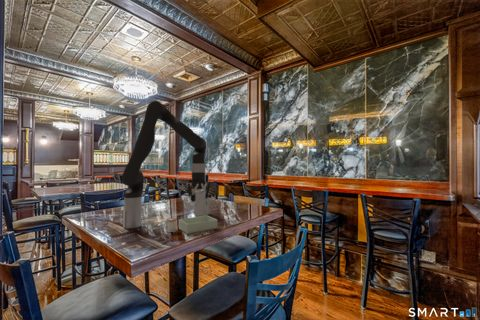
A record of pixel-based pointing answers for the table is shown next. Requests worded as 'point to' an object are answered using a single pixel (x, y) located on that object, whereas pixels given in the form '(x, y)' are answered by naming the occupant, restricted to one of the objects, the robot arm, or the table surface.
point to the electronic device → (202, 208)
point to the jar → (171, 225)
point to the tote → (197, 224)
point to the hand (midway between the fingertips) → (198, 200)
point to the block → (199, 197)
